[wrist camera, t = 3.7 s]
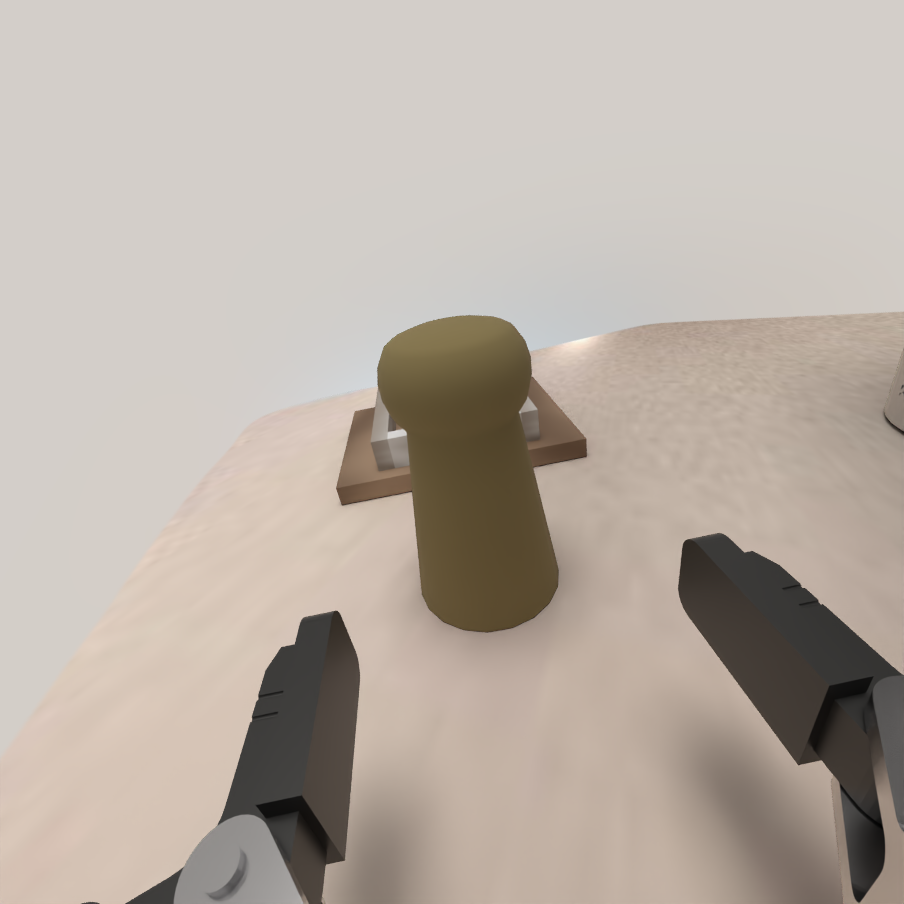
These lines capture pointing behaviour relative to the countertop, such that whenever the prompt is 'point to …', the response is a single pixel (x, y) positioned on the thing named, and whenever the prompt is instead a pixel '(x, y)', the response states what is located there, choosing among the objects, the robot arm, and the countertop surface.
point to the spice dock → (387, 460)
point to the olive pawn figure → (471, 470)
